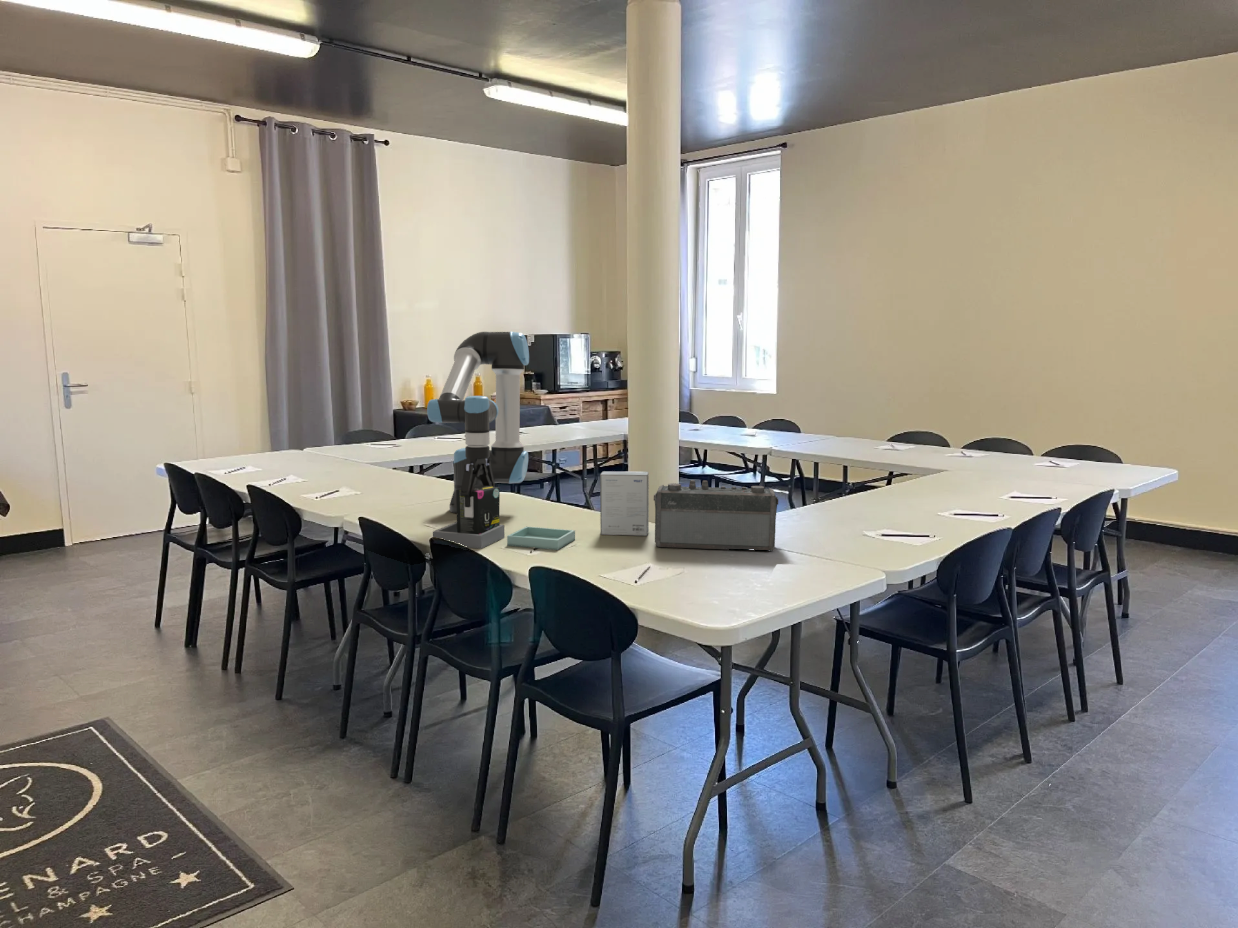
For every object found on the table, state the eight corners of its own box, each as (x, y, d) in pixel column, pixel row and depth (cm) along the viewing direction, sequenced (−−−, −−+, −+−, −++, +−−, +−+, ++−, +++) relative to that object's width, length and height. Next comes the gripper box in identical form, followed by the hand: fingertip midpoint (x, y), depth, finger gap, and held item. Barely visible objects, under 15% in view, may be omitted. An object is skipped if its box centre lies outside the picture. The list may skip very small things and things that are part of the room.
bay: (458, 533, 287) (457, 521, 287) (504, 537, 282) (504, 525, 282) (432, 544, 272) (432, 531, 272) (481, 548, 267) (481, 535, 267)
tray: (526, 535, 285) (526, 526, 285) (575, 539, 280) (575, 530, 280) (507, 545, 272) (507, 535, 271) (557, 550, 267) (557, 540, 266)
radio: (651, 548, 270) (652, 483, 267) (655, 538, 284) (656, 476, 282) (777, 553, 266) (780, 487, 263) (775, 542, 280) (777, 479, 277)
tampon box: (478, 538, 276) (477, 491, 274) (456, 534, 281) (455, 488, 279) (501, 531, 286) (500, 486, 283) (478, 527, 290) (478, 483, 288)
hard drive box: (649, 531, 294) (649, 471, 291) (647, 536, 286) (648, 475, 283) (602, 529, 295) (602, 470, 292) (599, 534, 288) (599, 473, 285)
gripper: (484, 440, 292) (484, 505, 295) (447, 449, 269) (449, 519, 272) (504, 441, 289) (505, 506, 293) (470, 451, 267) (471, 521, 270)
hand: (478, 513), depth 282 cm, fingers closed on tampon box, 12 cm apart
